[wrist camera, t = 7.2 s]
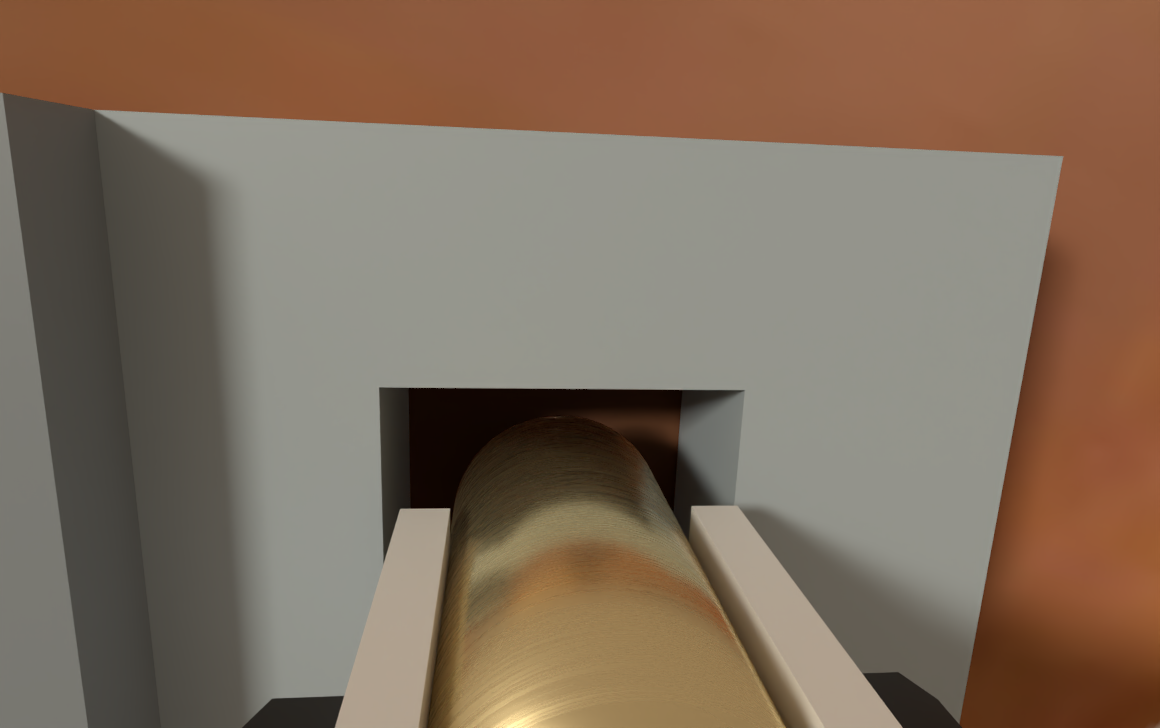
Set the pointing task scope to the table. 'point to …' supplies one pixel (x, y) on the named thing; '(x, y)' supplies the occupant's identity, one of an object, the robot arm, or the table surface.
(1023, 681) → the table surface
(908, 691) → the robot arm
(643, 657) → the brass cylinder
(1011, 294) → the jig
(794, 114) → the table surface
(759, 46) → the table surface
